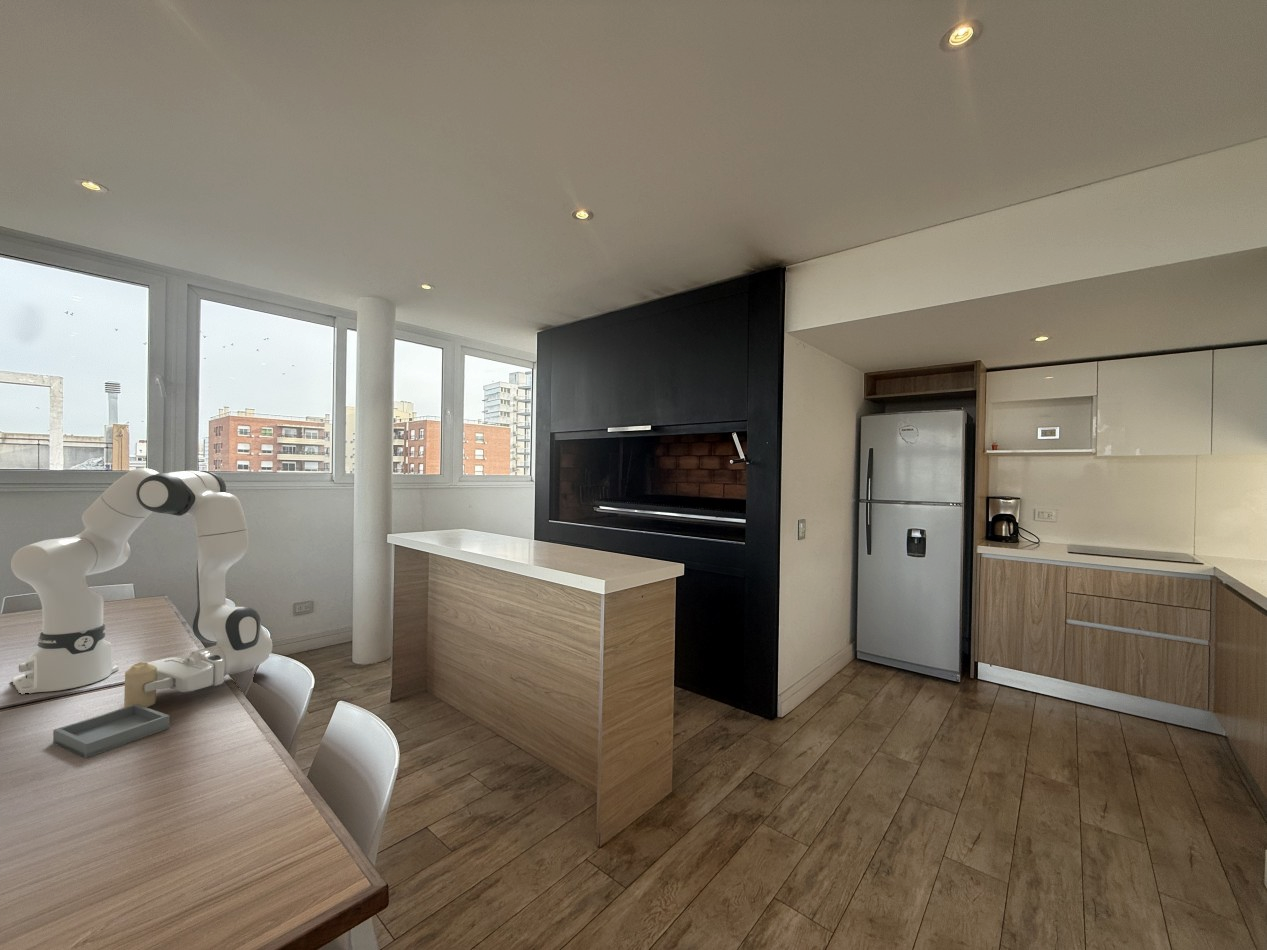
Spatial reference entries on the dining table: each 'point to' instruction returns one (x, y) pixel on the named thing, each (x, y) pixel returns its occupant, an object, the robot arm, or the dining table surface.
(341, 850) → the dining table surface
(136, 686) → the candle
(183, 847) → the dining table surface
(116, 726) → the serving tray
